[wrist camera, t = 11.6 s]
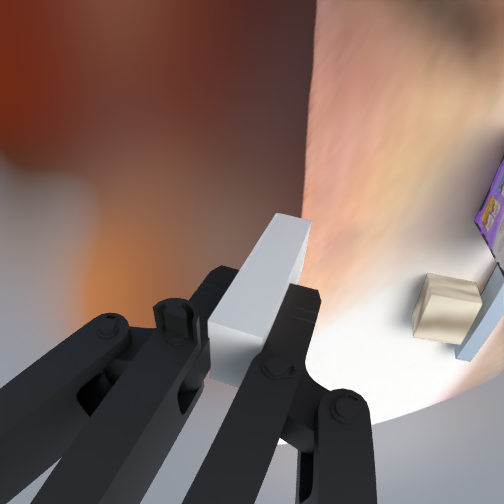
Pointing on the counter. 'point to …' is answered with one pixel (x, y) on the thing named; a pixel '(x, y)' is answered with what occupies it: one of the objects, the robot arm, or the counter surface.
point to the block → (445, 309)
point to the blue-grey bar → (484, 318)
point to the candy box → (494, 218)
